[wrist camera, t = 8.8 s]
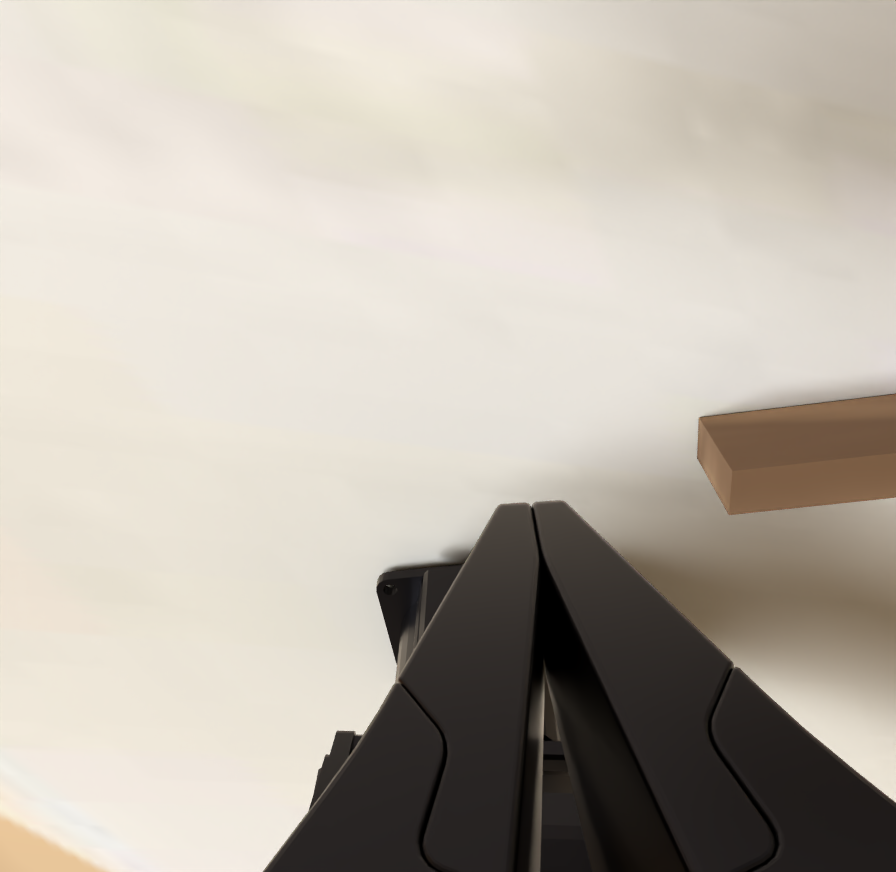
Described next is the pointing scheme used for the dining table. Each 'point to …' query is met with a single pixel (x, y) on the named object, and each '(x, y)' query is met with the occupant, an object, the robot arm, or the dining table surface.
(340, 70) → the dining table surface
